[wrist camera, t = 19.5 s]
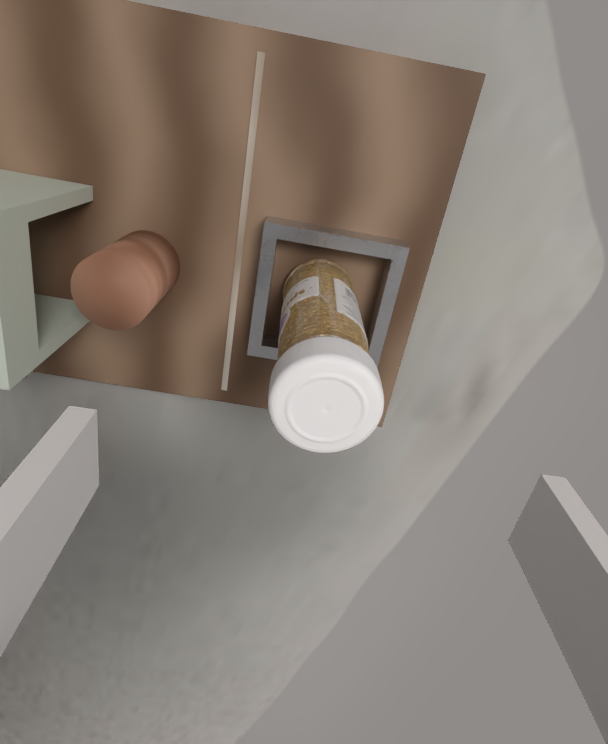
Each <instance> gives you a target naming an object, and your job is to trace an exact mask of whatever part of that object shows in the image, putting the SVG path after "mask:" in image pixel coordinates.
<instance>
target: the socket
mask: <svg viewBox="0 0 608 744" xmlns="http://www.w3.org/2000/svg"><path fill="white" fill-rule="evenodd" d="M278 239H280V240H286V241H291V242H297V243H302V244H308V245H314V246H319V247H325V248H330V249H336V250H341V251H347V252H353V253H358V254H364V255H369V256H375V257H380V258H386V260H385V264H384V268H383V272H382V276H381V280H380V284H379V288H378V292H377V296H376V300H375V304H374V308H373V312H372V316H371V320H370V324H369V328H368V332H367V336H366V337H367V341H368V350H369V355H370V357H371V358H372V359H373V361H374V363H375V365H376V366H377V367H378V364H379V360H380V356H381V353H382V349H383V345H384V342H385V338H386V334H387V330H388V327H389V323H390V319H391V316H392V312H393V308H394V305H395V301H396V297H397V294H398V290H399V286H400V283H401V279H402V275H403V272H404V268H405V264H406V260H407V257H408V253H409V249H410V248H409V246H408V245H407V244H406V242H405V241H404V240H399V239H393V238H388V237H382V236H377V235H371V234H366V233H360V232H355V231H349V230H344V229H338V228H333V227H327V226H322V225H316V224H311V223H305V222H300V221H295V220H289V219H284V218H278V217H273V216H267V218H266V220H265V221H264V228H263V236H262V243H261V251H260V259H259V266H258V274H257V282H256V289H255V297H254V305H253V312H252V320H251V328H250V335H249V343H248V351H247V355H250V356H256V357H262V358H268V359H274V360H277V356H278V339H279V336H278V335H272V334H266V333H265V326H266V319H267V312H268V305H269V298H270V291H271V284H272V278H273V271H274V264H275V257H276V250H277V243H278Z"/></svg>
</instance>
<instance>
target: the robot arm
mask: <svg viewBox="0 0 608 744" xmlns="http://www.w3.org/2000/svg"><path fill="white" fill-rule="evenodd" d="M98 487H99V461H98V426H97V410H95V409H89V408H82V407H75V406H69V407H68V408H67V409H66V410H65V411H64V412H63V414H62V415H61V416H60V417H59V418H58V420H57V421H56V422H55V423H54V424H53V425H52V427H51V428H50V429H49V430H48V431H47V433H46V434H45V435H44V436H43V437H42V439H41V440H40V441H39V442H38V443H37V444H36V446H35V447H34V448H33V449H32V450H31V452H30V453H29V454H28V455H27V456H26V458H25V459H24V460H23V461H22V462H21V463H20V465H19V466H18V467H17V468H16V469H15V471H14V472H13V473H12V474H11V475H10V477H9V478H8V479H7V480H6V481H5V482H4V484H3V485H2V486H1V487H0V657H1V655H2V654H3V652H4V650H5V649H6V647H7V645H8V643H9V642H10V640H11V638H12V636H13V635H14V633H15V631H16V629H17V628H18V626H19V624H20V622H21V621H22V619H23V617H24V615H25V614H26V612H27V610H28V608H29V607H30V605H31V603H32V601H33V600H34V598H35V596H36V595H37V593H38V591H39V589H40V588H41V586H42V584H43V582H44V581H45V579H46V577H47V575H48V574H49V572H50V570H51V568H52V567H53V565H54V563H55V561H56V560H57V558H58V556H59V554H60V553H61V551H62V549H63V548H64V546H65V544H66V542H67V541H68V539H69V537H70V535H71V534H72V532H73V530H74V528H75V527H76V525H77V523H78V521H79V520H80V518H81V516H82V514H83V513H84V511H85V509H86V507H87V506H88V504H89V502H90V500H91V499H92V497H93V495H94V494H95V492H96V490H97V488H98ZM508 541H509V543H510V545H511V547H512V549H513V551H514V554H515V556H516V558H517V560H518V562H519V564H520V566H521V568H522V570H523V572H524V574H525V576H526V578H527V581H528V583H529V585H530V587H531V589H532V591H533V593H534V595H535V597H536V599H537V601H538V603H539V605H540V607H541V610H542V612H543V613H544V616H545V618H546V620H547V622H548V624H549V626H550V628H551V630H552V632H553V634H554V636H555V639H556V640H557V642H558V645H559V647H560V649H561V651H562V653H563V655H564V657H565V659H566V661H567V663H568V665H569V668H570V669H571V672H572V674H573V676H574V678H575V680H576V682H577V684H578V686H579V688H580V690H581V692H582V695H583V697H584V699H585V700H586V703H587V705H588V707H589V709H590V711H591V713H592V715H593V717H594V719H595V721H596V723H597V726H598V728H599V730H600V732H601V734H602V736H603V738H604V740H605V742H606V744H608V536H607V534H606V533H605V532H604V530H603V529H602V528H601V526H600V525H599V523H598V522H597V521H596V519H595V518H594V517H593V515H592V514H591V512H590V511H589V510H588V509H587V507H586V506H585V504H584V503H583V501H582V500H581V499H580V497H579V496H578V495H577V493H576V492H575V491H574V489H573V488H572V486H571V485H570V484H569V482H568V481H567V480H566V478H563V477H556V476H549V475H541V476H540V478H539V480H538V482H537V484H536V486H535V488H534V490H533V492H532V494H531V496H530V498H529V500H528V502H527V504H526V506H525V508H524V510H523V511H522V514H521V515H520V517H519V520H518V521H517V523H516V525H515V528H514V529H513V532H512V533H511V536H510V537H509V539H508Z"/></svg>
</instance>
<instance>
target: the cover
mask: <svg viewBox="0 0 608 744" xmlns="http://www.w3.org/2000/svg"><path fill="white" fill-rule="evenodd" d="M90 201H93V186H91V185H85V184H80V183H74V182H69V181H63V180H58V179H52V178H47V177H41V176H36V175H30V174H25V173H19V172H14V171H8V170H3V169H0V389H4V390H11V389H12V388H13V387H14V386H15V385H16V384H18V383H19V382H20V381H21V380H22V379H23V378H24V377H26V376H27V375H28V374H29V373H30V372H31V371H33V370H34V369H35V368H36V367H37V366H38V365H40V364H41V363H42V362H43V361H44V360H45V359H47V358H48V357H49V356H50V355H51V354H52V353H53V352H55V351H56V350H57V349H58V348H59V347H60V346H62V345H63V344H64V343H65V342H66V341H67V340H69V339H70V338H71V337H72V336H73V335H74V334H76V333H77V332H78V331H79V330H80V329H81V328H82V327H84V326H85V325H86V324H87V323H88V322H89V321H90V320H88V319H87V318H86V317H85V316H84V315H83V314H82V313H81V312H80V311H79V309H78V308H77V306H76V304H75V302H74V300H69V299H63V298H57V297H51V296H45V295H39V294H34V286H33V274H32V263H31V251H30V240H29V228H28V222H30V221H33V220H36V219H39V218H42V217H45V216H48V215H51V214H54V213H57V212H60V211H63V210H66V209H69V208H72V207H75V206H78V205H81V204H84V203H87V202H90Z"/></svg>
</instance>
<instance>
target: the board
mask: <svg viewBox="0 0 608 744" xmlns="http://www.w3.org/2000/svg"><path fill="white" fill-rule="evenodd" d="M485 75H486V74H484V73H479V72H474V71H469V70H464V69H459V68H454V67H449V66H444V65H439V64H435V63H430V62H425V61H420V60H415V59H410V58H405V57H400V56H395V55H390V54H386V53H381V52H376V51H371V50H366V49H361V48H356V47H351V46H346V45H342V44H337V43H332V42H327V41H322V40H317V39H312V38H307V37H302V36H297V35H293V34H288V33H283V32H278V31H273V30H268V29H263V28H258V27H253V26H248V25H244V24H239V23H234V22H229V21H224V20H219V19H214V18H209V17H204V16H200V15H195V14H190V13H185V12H180V11H175V10H170V9H165V8H160V7H155V6H151V5H146V4H141V3H136V2H131V1H126V0H0V169H3V170H8V171H14V172H19V173H25V174H30V175H36V176H41V177H47V178H52V179H58V180H63V181H69V182H74V183H80V184H85V185H91V186H93V201H90V202H87V203H84V204H81V205H78V206H75V207H72V208H69V209H66V210H63V211H60V212H57V213H54V214H51V215H48V216H45V217H42V218H39V219H36V220H33V221H30V222H28V228H29V240H30V251H31V263H32V274H33V286H34V294H39V295H45V296H51V297H57V298H63V299H69V300H74V302H75V304H76V306H77V308H78V309H79V311H80V312H81V313H82V314H83V315H84V316H85V317H86V318H87V319H88V320H90V321H89V322H88V323H87V324H86V325H85V326H84V327H82V328H81V329H80V330H79V331H78V332H77V333H76V334H74V335H73V336H72V337H71V338H70V339H69V340H67V341H66V342H65V343H64V344H63V345H62V346H60V347H59V348H58V349H57V350H56V351H55V352H53V353H52V354H51V355H50V356H49V357H48V358H47V359H45V360H44V361H43V362H42V363H41V364H40V365H38V366H37V367H36V368H35V369H34V370H33V371H34V372H40V373H46V374H53V375H59V376H65V377H72V378H78V379H84V380H90V381H97V382H103V383H109V384H115V385H122V386H128V387H134V388H140V389H147V390H153V391H159V392H166V393H172V394H178V395H184V396H191V397H197V398H203V399H209V400H216V401H222V402H228V403H234V404H241V405H247V406H253V407H260V408H266V409H268V394H269V384H270V378H271V374H272V371H273V368H274V366H275V364H276V362H277V360H274V359H268V358H262V357H256V356H250V355H247V351H248V343H249V335H250V328H251V320H252V312H253V305H254V297H255V289H256V282H257V274H258V266H259V259H260V251H261V243H262V236H263V228H264V221H265V220H266V218H267V216H273V217H278V218H284V219H289V220H295V221H300V222H305V223H311V224H316V225H322V226H327V227H333V228H338V229H344V230H349V231H355V232H360V233H366V234H371V235H377V236H382V237H388V238H393V239H399V240H404V241H405V242H406V244H407V245H408V246H409V248H410V249H409V253H408V257H407V260H406V264H405V268H404V272H403V275H402V279H401V283H400V286H399V290H398V294H397V297H396V301H395V305H394V308H393V312H392V316H391V319H390V323H389V327H388V330H387V334H386V338H385V342H384V345H383V349H382V353H381V356H380V360H379V364H378V367H377V369H378V372H379V375H380V379H381V383H382V388H383V394H384V410H383V414H382V417H381V419H380V421H379V423H378V425H377V426H379V427H382V425H383V421H384V418H385V414H386V411H387V408H388V404H389V401H390V398H391V394H392V391H393V387H394V384H395V381H396V377H397V374H398V370H399V367H400V364H401V360H402V357H403V353H404V350H405V347H406V343H407V340H408V336H409V333H410V330H411V326H412V323H413V319H414V316H415V313H416V309H417V306H418V302H419V299H420V296H421V292H422V289H423V285H424V282H425V279H426V275H427V272H428V268H429V265H430V262H431V258H432V255H433V252H434V248H435V245H436V241H437V238H438V235H439V231H440V228H441V224H442V221H443V218H444V214H445V211H446V207H447V204H448V201H449V197H450V194H451V190H452V187H453V184H454V180H455V177H456V173H457V170H458V167H459V163H460V160H461V156H462V153H463V150H464V146H465V143H466V139H467V136H468V133H469V129H470V126H471V122H472V119H473V116H474V112H475V109H476V106H477V102H478V99H479V95H480V92H481V89H482V85H483V82H484V78H485ZM314 259H326V260H328V261H331V262H334V263H337V264H338V265H339V266H341V267H342V268H343V269H345V270H346V272H347V273H348V274H349V276H350V278H351V279H352V282H353V285H354V290H355V293H354V294H355V297H356V300H357V303H358V307H359V310H360V314H361V318H362V322H363V326H364V330H365V333H366V336H367V332H368V328H369V324H370V320H371V316H372V312H373V308H374V304H375V300H376V296H377V292H378V288H379V284H380V280H381V276H382V272H383V268H384V264H385V260H386V258H380V257H375V256H369V255H364V254H358V253H353V252H347V251H341V250H336V249H330V248H325V247H319V246H314V245H308V244H302V243H297V242H291V241H286V240H280V239H278V243H277V250H276V257H275V264H274V271H273V278H272V284H271V291H270V298H269V305H268V312H267V319H266V326H265V333H266V334H272V335H278V336H279V330H280V321H281V311H282V305H283V294H282V292H283V287H284V283H285V281H286V279H287V278H288V276H289V274H290V273H291V272H292V271H293V270H294V269H295V268H296V267H297V266H298V265H300V264H302V263H304V262H307V261H309V260H314Z"/></svg>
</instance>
